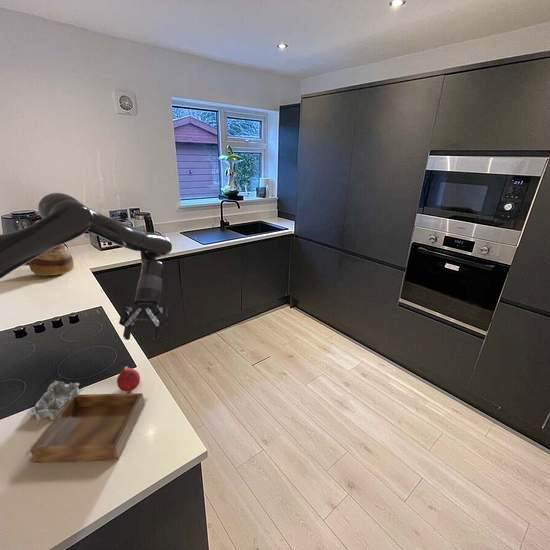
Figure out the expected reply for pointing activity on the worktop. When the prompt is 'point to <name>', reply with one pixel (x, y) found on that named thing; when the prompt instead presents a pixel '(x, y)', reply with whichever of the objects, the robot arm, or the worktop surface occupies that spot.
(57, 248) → the ceramic pitcher
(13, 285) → the worktop surface
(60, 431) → the wooden tray
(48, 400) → the egg carton
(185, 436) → the worktop surface
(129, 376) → the onion
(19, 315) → the worktop surface
